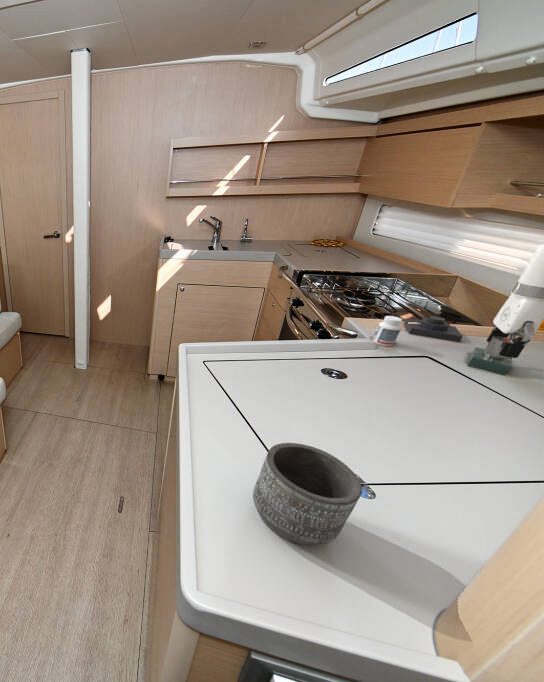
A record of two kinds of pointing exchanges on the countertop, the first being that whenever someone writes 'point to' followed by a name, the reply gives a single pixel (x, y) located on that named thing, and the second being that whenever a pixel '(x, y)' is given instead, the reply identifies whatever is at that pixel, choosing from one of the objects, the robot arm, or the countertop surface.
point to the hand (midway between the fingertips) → (500, 349)
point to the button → (436, 320)
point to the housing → (433, 330)
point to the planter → (305, 493)
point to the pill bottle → (387, 331)
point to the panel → (489, 362)
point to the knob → (495, 347)
